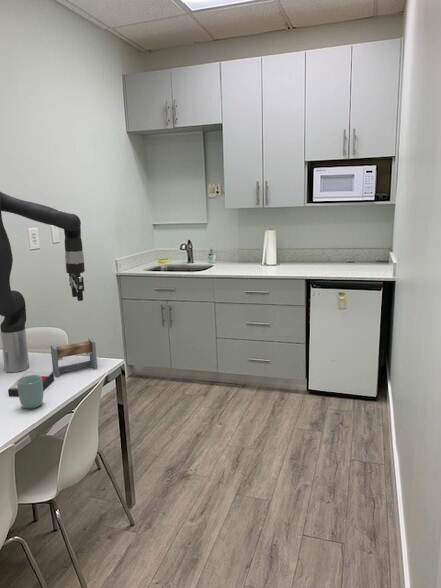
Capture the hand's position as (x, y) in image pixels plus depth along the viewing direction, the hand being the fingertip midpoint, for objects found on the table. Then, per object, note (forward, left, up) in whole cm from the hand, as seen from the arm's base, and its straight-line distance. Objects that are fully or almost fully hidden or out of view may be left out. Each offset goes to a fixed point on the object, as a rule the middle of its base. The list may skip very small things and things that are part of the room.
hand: (77, 298), depth 189 cm
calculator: (-24, -19, -29) cm, 42 cm away
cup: (-27, -35, -28) cm, 52 cm away
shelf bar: (-6, -11, -20) cm, 24 cm away
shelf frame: (-6, -11, -28) cm, 31 cm away
